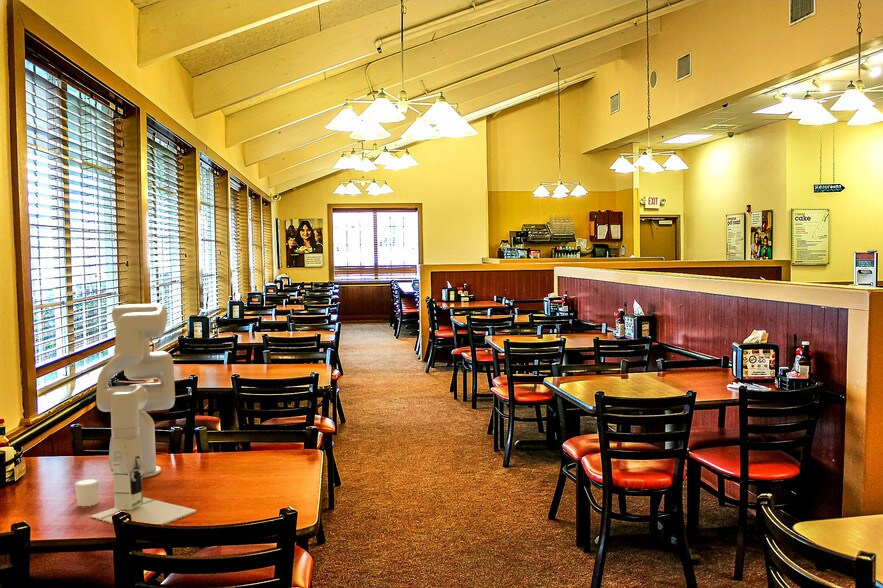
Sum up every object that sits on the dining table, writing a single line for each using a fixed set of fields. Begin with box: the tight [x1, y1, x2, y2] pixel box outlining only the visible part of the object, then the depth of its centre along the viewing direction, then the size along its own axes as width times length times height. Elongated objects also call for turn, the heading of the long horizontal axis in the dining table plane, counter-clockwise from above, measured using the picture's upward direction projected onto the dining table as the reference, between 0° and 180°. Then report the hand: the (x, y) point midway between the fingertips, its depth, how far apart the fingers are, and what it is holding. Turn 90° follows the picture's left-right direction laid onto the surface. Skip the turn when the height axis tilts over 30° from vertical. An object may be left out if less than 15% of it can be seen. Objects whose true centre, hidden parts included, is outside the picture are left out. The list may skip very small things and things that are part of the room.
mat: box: [90, 496, 197, 525], centre depth 210 cm, size 24×18×1 cm
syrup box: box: [112, 461, 144, 510], centre depth 213 cm, size 6×6×14 cm
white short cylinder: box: [74, 478, 100, 508], centre depth 220 cm, size 7×7×7 cm
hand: (128, 490), depth 214 cm, fingers closed on syrup box, 7 cm apart
